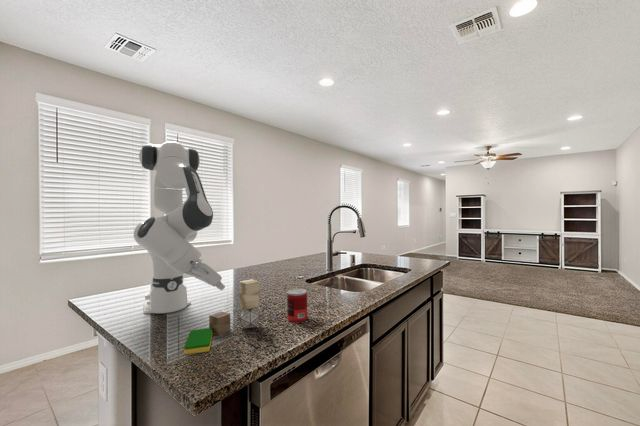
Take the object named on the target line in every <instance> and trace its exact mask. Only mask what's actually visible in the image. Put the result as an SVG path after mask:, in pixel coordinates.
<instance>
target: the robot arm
mask: <svg viewBox="0 0 640 426" xmlns="http://www.w3.org/2000/svg"><path fill="white" fill-rule="evenodd" d="M138 159H139V162H140V163H141V164H140V165H141V167H143V169H144V170H145V169H146V170H149V171H155V176H154V182H153V183H154V185H153V186H154V187H153V188H154V189H153V205H154V207H155V209H157V210H159V211H160V212H162V213H164V215H162V216H151V217H149V218H147V219H146V220H145V221H144V222H143V221H142V222H139V223H138V224H137V225H136V226H135V228H134V231H133V239H134V240H135V242H136V243H137V244H138V245H139V246H140V247H142V248H144V249H145V250H146V251H147V252H148V254H149V255H150V257H151V260H152V267H153V277H152V281H151V282H152V283H151V286H152V287H151V288H150V290H149V292H148V294H145V295H144V299H145V302H144V303H143V314H167V313H168V314H169V313H174V312H178V311H180V310H181V311H182V309H185V308H186V307H187V306H190V305H191V302H192V301H190V300H188V291H187V289H188V288H187V285H185V284H184V274H185V275H189V276H191V277H192V278H195V279H198V280H199V281H202V282H204V283H205V284H207V285H208V286H209V285H210V286H212V287H216V288H217V289H218V290H219V291H223V290H224V289H225V288H226V285H224V284H223V283H222V281H221V280H222V279H223V277H222V275H221V274H220V273H218V271H216V270H214V269H213V268H212V267H211V266H210V265H209V264H207V263H205V262H202V261H203V260H202V258H201V256H202V253H201V252H200V251H199V250H198V249H197V248H196V247H195V246H193V245H192V244H191V242H193V241H194V240H195V239H196V238H197V236H198V232H199V231H202V230H204V229H205V228H207V227H209V226H211V224H212V222H213V219H214V212H213V208H212V207H211V205H210V203H209V201H208V199H207V196H206V192H205V190H204V187H203V183H202V181H201V178H200V175H199V174H198V172H197V171H198V168H199V167H200V164H201V158H200V155H199V152H198V151H197V150H196V149H194V148H191V147H184V145H182V144H181V143H180V142H177V141H172V140H171V141H166V142H163V143H162V144H154V143H146V144H144V145H142V148H141V149H140V150H139V154H138ZM183 189H185V193H186V200H185V201H184V202H183Z"/></svg>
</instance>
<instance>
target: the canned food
mask: <svg viewBox="0 0 640 426" xmlns="http://www.w3.org/2000/svg"><path fill="white" fill-rule="evenodd" d="M286 292H287V293H286V299H287V300H286V304H287V306H286V307H287V308H286V309H287V310H286V312H287V315H286V317H287V321H289V322H290V323H297V324H298V323H303V322H305V321H306V320H308V319H307V318H308V291H307V289H304V288H293V289H292V288H291V289H289V290H287V291H286Z"/></svg>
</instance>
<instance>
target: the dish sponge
mask: <svg viewBox="0 0 640 426" xmlns="http://www.w3.org/2000/svg"><path fill="white" fill-rule="evenodd" d="M212 329H213V328H209V327H208V328H207V327H206V328H199V329H191V330H190V331H189V332H188V333H189V334H188V336H187V338H186V342H185V345H184V347H183V350H184V351H183V352H184V353H183V354H184V355H190V354H191V355H192V354H198V353H204V352H210V351H211V345H212V339H213V335H214V334H213V330H212Z"/></svg>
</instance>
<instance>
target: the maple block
mask: <svg viewBox="0 0 640 426" xmlns="http://www.w3.org/2000/svg"><path fill="white" fill-rule="evenodd" d="M239 307H240V308H242V309H243V308H244V309H246V310H247V309H251V308H255V307H256V308H259V307H260V282H259V281H258V280H255V279H252V278H251V279H247V280H240V281H239Z"/></svg>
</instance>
